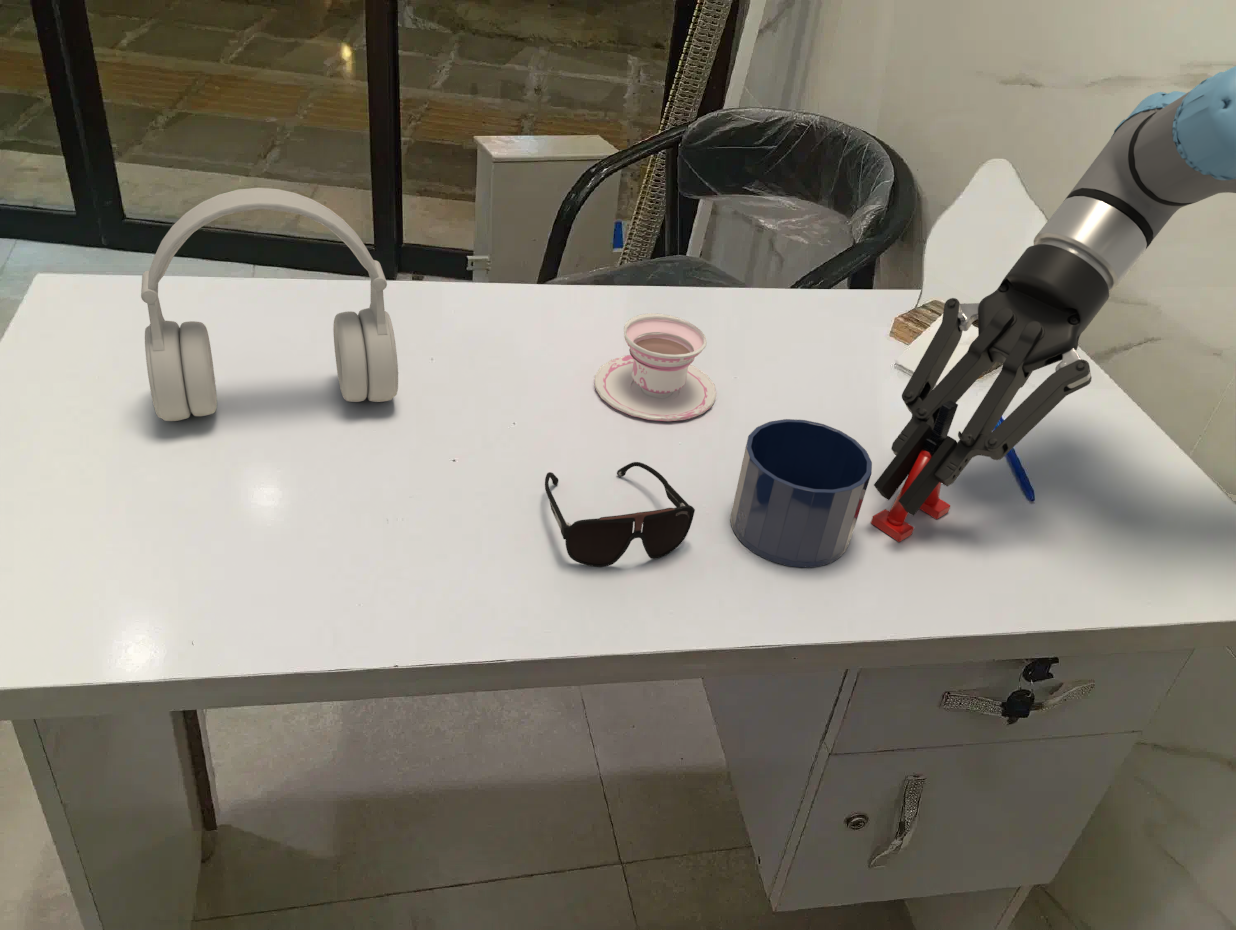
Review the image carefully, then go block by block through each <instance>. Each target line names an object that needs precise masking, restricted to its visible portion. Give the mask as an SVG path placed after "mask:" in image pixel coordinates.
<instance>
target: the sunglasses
mask: <svg viewBox="0 0 1236 930" xmlns="http://www.w3.org/2000/svg"><path fill="white" fill-rule="evenodd" d="M634 467H639V468H641V469H644V470H645V471H647V472H649V473H650V474H651V475H653V476H654V477H655V478H656V479H657V480H658V481H660V482H661V484H662V486H663V487H664V490H665V494H666V497H667V499H668V500H669V501H670V502H671V503H672V504H673V505H674V506H675V507H667V508H662V509H655V510H647V511H638V512H632V513H627V514H619V515H608V516H601V517H599V518H587V519H586V518H585V519H580V520H576V521H574V522H573V523H572V524H571V523H569V522H567V521H566V519H565V518H564V516H563V514H562V512H561V510H560V508H559V505H558V504H557V501H556V499H555V497H554V495H553V494H552V491H551V489H550V484H549V482H550V479H551V483H552V485H553V486H557V485H558V484H559V478H558V477H557V475H555V474H554V473H553V472H547V473H546V475H545V478H544V490H545V493H546V495H547V498H548V501H549V505H550V510H551V513H552V514H553V517H554V519H555V521H556V523H557V525H558V527H559V530H560V534H561V536H562V539H563V540H565V548H566V552H567V555H568V557H569V558H570V559H571V560H573V561H574V562H576V563H579V564H581V565H583V566H588V567H593V568H605V567H609V566H612V565H614V564H616V562H618V561H619V559H621V557H623V555H624V554H625V553H626V551H627V550H628V548H629V546H630V545H631V542H633V540H635V539H640V540H641V543H642V546H643V548H644V550H645V552H646V554H647V557H648V558H650V559H652V560H656V559H657V560H658V559H660V558H663V557H666V556H667V555H669V554H670V553H672V552H674V550H676V549H677V548H678V547H679V546H680V545H682V543H683V542H684V540H686V537H687V535H688V533H689V532H690V529H691V526H692V523H693V520H694V515H695V511H696V509H695V508H694V507H693V506H692V505H690V504H689V503H688V502H687V501H686V500H685V499H684V498H683V497H682V495H680V494H679V493H678V492H677V490H675V489H674V488H673V486H672V485H670V483H669V482H668V480H667V479H666V478H665V477H664V475H662V474H661V473H660V472H658V471H657V470H656V469H654V468H653V467H651V466H650V465H648V464H645V463H643V462H641V461H632V462H630V463H628V464H626V465H624V466H622V467H621V468H619V469H618V470H617V472H616V475H617V477H619V478H622V477H625V475H626V473H627V471H629V470H630V469H631V468H634Z"/></svg>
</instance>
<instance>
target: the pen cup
mask: <svg viewBox="0 0 1236 930" xmlns="http://www.w3.org/2000/svg"><path fill="white" fill-rule="evenodd" d="M871 459H872V458H871V457H870V455H869V453H868V451H867V450H866V449H865V447H863V446H862V445H861V443H860V442H858V441H857V440H856V439H854V438H853V437H851V436H850V435H848V434H846V433H845V432H843V431H841V430H840V429H837V428H835V427H832V426H829V425H827V424H824V423H820V422H816V421H811V420H806V419H791V418H784V419H778V420H771V421H767V422H765V423H763V424H761V425H758V426H757V427H755V428H754V430H752V431H751V432H750V434H748V436H747V440H746V444H745V449H744V454H743V458H742V462H741V467H740V472H739V476H738V481H737V485H736V489H735V495H734V498H733V503H732V508H731V512H730V526H731V528H732V531H733V533H734V534H735V536H736V538H737V539H738V540H739V541H740V542H741V544H743V545H744V546H745V547H746V548H747V549H748V550H749V551H751V552H753V553H754V554H755V555H757V556H759V557H761V558H763V559H765V560H767V561H770V562H772V563H775V564H779V565H783V566H787V567H792V568H817V567H821V566H825V565H829V564H831V563H834V562H835V561H837V560H838V559H840V558H841V557H842V556H843V555H844V554H845V553H846V551H847V549H848V547H849V544H850V542H851V540H852V537H853V533H854V530H855V527H856V523H857V521H858V518H859V514H860V512H861V508H862V505H863V502H864V499H865V495H866V493H867V489H868V486H869V482H870V480H871V476H872V473H873V471H872V469H873V462H872V460H871Z"/></svg>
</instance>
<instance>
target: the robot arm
mask: <svg viewBox="0 0 1236 930" xmlns="http://www.w3.org/2000/svg"><path fill="white" fill-rule="evenodd" d="M1223 193H1225V194H1227V193H1229V194H1231V193H1232V194H1236V65H1235V66H1233V67H1231V68H1229V69H1227V70H1225V71H1219V72H1217V73H1215V74H1214V75H1213V76H1210V77H1207V78H1205V79H1204V80H1202V81H1201V82H1199V83H1198V84H1197V85H1195V87H1193V88H1192V89H1190V91H1188V92H1184V91H1179V90H1173V91H1170V92H1168V93H1167V92H1164V91H1158V92H1154V93H1152V94H1150V95H1148V96H1146V97H1145V98H1144V99H1142V100H1141V101H1140V102H1139V104H1138V105H1136V107H1135V108H1134V109H1133V110H1132V111H1131V113H1129V115H1128V116H1127V117H1126V118H1124V119H1123V120H1121V122H1120V123H1118V125H1117V127H1116V128H1114V130H1113V133H1112V135H1111V137H1110V139H1109V140H1108V142H1107V143H1106V144H1105V146H1104V147H1103V148H1102V149H1101V151H1100V152H1099V154H1098V155H1097V156H1096V157H1095V159H1094V160H1093V161H1092V163H1091V164H1090V165H1089V167H1088V168H1087V170H1086V171H1085V172H1084V173H1083V174H1082V176H1081V178H1080V179H1079V180H1078V182H1077V183H1076V184H1075V185H1074V187H1073V188H1072V189H1071V191H1070V192H1069V194H1068V195H1067V196H1066V197H1065V199H1064V200H1063V201H1062V202H1061V204H1060V205H1059V206H1058V208H1056V210H1055V212H1053V214H1052V215H1051V216H1050V218H1049V219H1048V220H1047V221H1046V223H1045V224H1044V225H1043V227H1041V229H1040V230H1039V231H1038V233H1037V234H1036V235H1035V236H1034V238H1033V245H1030V246H1028V247H1027V248H1026V249H1025V250H1024V251H1023V253H1022V254H1021V255H1020V256H1019V258H1018V259H1017V260H1016V262H1015V263H1014V265H1013V266H1012V267H1011V269H1009V271H1008V272H1007V273H1006V275H1005V276H1004V278H1003V279H1002V281H1001V283H1000V284H999V285H998V287H997V289H996V290H994V291H993V292H992V293H990V294H988V295H987V296H985V297H983V298H982V299H981V301H980V302H976V303H975V302H974V303H972V302H971V303H960V301H959V299H957V298H956V297H950V298H948V299H947V300H946V301H945V302H944V306H943V313H942V319H941V323H940V325H939V327H938V329H937V331H936V332H935V334H934V336H933V338H932V339H931V341H930V343H929V345H928V346H927V349H926V350H925V352H924V354H923V356H922V357H921V359H920V361H919V363H918V364H917V366H916V367H915V370H914V372H913V373H912V375H911V377H910V379H909V380H908V382H907V384H906V386H905V388H904V389H903V391H902V392H901V399H902V401H903V402H904V404H905V406H906V408H907V410H908V411H909V413H911V418H910V420H909V421H908V423H906V425H905V426H904V428H903V429H902V430H901V431H900V433H899V434H898V436H897V437H896V438H895V440H893V442H892V445H891V451H892V453H893V454H894V455H895V456H894V458H893V459H892V460H891V462H890V463H889V464H888V465H887V466H886V468H885V469H884V470H883V472H882V473H881V475H879V478H878V479H877V480H876V481H875V483H874V484H873V487H874V488H875V489H876V490H877V492H878V493H879V494H880V496H881V497H883V498H884V499H886V500H887V501H890V500H891V499H892V498H893V496H894V495H895V494H896V492H897V491H898V489H899V488H900V487H901V486H902V484H904V482H905V481H906V479H907V477H908V475H909V473H910V471H911V469H912V467H913V465H914V463H915V462H916V460H917V458H918V456H919V454H920V452H921V450H922V449H923V447H924V444H925V441H926V439H927V438H929V437H931V434H932V431H933V428H934V425H935V422H936V419H937V417H938V414H939V411H940V408H941V405H942V404H943V403H945V402H947V401H949V400H951V401H953V402H954V403H956V404H957V402H958V401H959V400H960V399H961V398H962V397H963V396H964V395H965V393H966V392H968V390H969V389H970V388H971V387H972V386H973V384H975V383H976V382H977V380H978V379H979V378H980V377H981V376H982V375H983V374H984V373H985V372H988V371H989V370H990V369H992V367H994V365H995V364H996V363H1000V364H1002V366H1001V370H1000V372H999V374H998V375H997V377H996V378H995V379H994V381H993V383H992V384H991V385H990V387H989V389H988V390H987V392H986V394H985V395H984V397H983V398H982V400H981V402H980V403H979V405H978V407H977V408H976V410H975V411H974V413H973V415H972V416H971V418H970V419H969V421H968V422H967V424H966V425H965V427H964V428H963V430H962V432H961V431H960V430H959V431H958V433H957V437H958V439H959V440H958V441H957V440H956V439H955V438H953V437H951V436H949V435H947V438H946V439H945V440H944V442H943V443H942V444H941V446H940V447H939V448H938V450H937V451H936V452H935V453H934V455H933V456H932V457H931V459H930V460H929V461H928V463H927V464H926V465H925V467H924V468H923V469H922V471H921V472H920V473H919V474H918V476H917V477H916V478H915V480H914V481H913V482H912V484H911V485H910V486H909V488H908V489H907V490H906V491H905V493H904V494H903V495H902V497H901V498H900V499H899V502H900V504H901V505H902V507H903V508H904V509H905V511H906V512H908V515H910V516H912V517H914V516H915V515H916V513H917V512H918V511H919V510H920V509H919V508H920V507H921V506H922V504H923V503H924V502H925V500H926V499H927V498H928V496H929V495H930V494H931V492H932V491H933V490H934V489H935V487H936V486H937V485H938V483H939V482H940V483H941V485H944V486H945V487H949V486H950V485H952V484H954V482H955V481H956V480H957V478H958V477H959V476H960V475H961V473H962V472H963V471H964V469H966V467H967V465H968V464H969V463H970V462H971V460H972V459H973V458H975V457H978V456H979V457H980V456H981V457H987V458H990V459H991V460H993V461H998V460H1002V459H1003V458H1004V457H1006V455H1007V454H1008V453H1009V452H1010V451H1011V450H1012V449H1013V448H1014V447H1015V446H1016V445H1018V443H1019V442H1020V441H1022V439H1024V437H1026V436H1027V435H1028V434H1029V433H1030V432H1031V431H1032V430H1033V429H1034V428H1035V427H1036V426H1037V425H1038V424H1039V423H1041V421H1043V419H1044V418H1046V416H1047V415H1049V413H1050V412H1052V411H1053V410H1054V408H1056V407H1057V406H1058V405H1059V404H1060V403H1061V402H1062V401H1063V400H1064V399H1065V398H1066V397H1068V396H1069V395H1071V394H1073V393H1075V392H1077V391H1079V390H1082V389H1083V388H1085V387H1087V386H1088V385H1090V384H1091V382H1092V373H1091V367H1090V363H1089V362H1088V360H1085V359H1082V358H1081V356H1080V355H1079V353H1078V352H1077V350H1078V348H1079V339H1080V337H1081V335H1082V333H1083V332H1084V331H1085V330H1087V328H1088V326H1089V325H1090V324H1091V322H1092V321H1093V320H1094V319H1095V317H1096V316H1097V315H1098V313H1099V312H1100V311H1101V310H1102V308H1103V307H1104V305H1105V304H1106V303H1107V302H1108V300H1109V298H1110V292H1112V291H1114V290H1116V289H1117V288H1118V286H1119V285H1120V284H1121V283H1122V281H1123V280H1124V279H1125V277H1127V276H1128V274H1129V272H1130V271H1131V270H1132V269H1133V267H1134V266H1135V264H1136V263H1137V262H1138V261H1139V259H1140V258H1141V257H1142V256H1143V254H1144V253H1145V252H1146V250H1147V249H1148V248H1149V246H1150V245H1151V243H1152V242H1153V241H1154V240H1155V238H1157V236H1158V235H1159V233H1160V232H1161V231H1162V230H1163V228H1164V227H1165V226H1166V224H1167V223H1168V222H1169V221H1170V220H1171V218H1172V217H1173V215H1175V214H1176V213H1177V212H1178V211H1179V210H1180V209H1182V208H1184V207H1186V206H1189V205H1193V204H1195V203H1198V202H1200V201H1201V202H1202V201H1203V200H1206V199H1208V198H1210V197H1213V196H1216V195H1217V194H1223ZM976 320H977V333H978V334H977V336H976V337H975V338H974V339H973V341H972V342H971V343H970V345H969V346H968V349H967V352H966V353H965V354H964V355H963V356H962V357H961V358H960V359H959V360H958V361H957V362H956V364H955V365H954V366H953V367H952V368H951V369H950V370H949V371H948V372H947V374H946V375H945V376H944V377H943V378H942V379H941V380H940V381H939V379H940V377H941V375H942V374H943V372H944V371H945V368H946V366H947V365H948V363H949V361H950V360H951V358H952V356H953V354H954V353H955V350H956V349H957V347H958V345H959V344H960V341H961V339H962V336H963V332H968V330H969V329H970V328H971V327H972V324H973V322H975V321H976ZM1058 362H1059V363H1058ZM1055 363H1058V364H1057V365H1056V366H1055V368H1054V369H1055V371H1054V372H1053V373H1052V374H1050V375H1049V376H1047V378H1046V379H1045V380H1044V381H1042V383H1041V384H1040V385H1038V387H1036V388H1035V389H1034V390H1033V391H1032V392H1031V393H1030V394H1029V395H1028V396H1027V397H1026V398H1025V399H1024V400H1023V401H1022V402H1021V403H1020V404H1019V405H1018V406H1017V407H1016V408H1015V409H1014V410H1013V411H1012V412H1010V414H1009V415H1008V416H1007V417H1005V419H1004V420H1003V421H1002V422H1001V423H1000V424H999V421H1000V420H1001V418H1002V417H1003V415H1004V414H1005V412H1006V410H1007V409H1008V407H1009V406H1010V404H1011V402H1013V400H1014V398H1015V396H1016V395H1017V393H1018V391H1019V390H1020V389H1022V388H1023V387H1024V386H1025V385H1026V383H1027V381H1028V380H1029V378H1030V377H1031V375H1032V374H1033V373H1034V371H1036V370H1037V371H1038V370H1040V369H1042V368H1045V367H1047V366H1050V365H1052V364H1055ZM938 381H939V383H938ZM937 383H938V384H937ZM936 384H937V385H936Z"/></svg>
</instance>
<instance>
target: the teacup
mask: <svg viewBox="0 0 1236 930" xmlns="http://www.w3.org/2000/svg"><path fill="white" fill-rule="evenodd" d="M623 337H624V341H625V342H626V344H627V346H628V347H629V350H628V351H629V354H628V355H623V356H620V357H616V358H613V359H611V360H609V361H608V362H606V363H604V364H603V365H601V366H600V367H599V369H598V370H597V372H596V373H595V375H594V389H595V390H596V392H597V394H598V396H599V397H600V398H601V399H602V400H603V401H604V402H606V404H608V405H609V406H611V407H612V409H615V410H618V411H620V412H622V413H624V414H626V415H629V416H632V417H635V418H639V419H644V420H648V421H659V422H675V421H687V420H689V419H693V418H696V417H698V416H702V415H703V414H704V413H706V412H707V411H708V410H709V409H711V408H712V407H713V405H714V403H715V401H716V398H717V391H716V385H715V384H714V382H713V380H711V379H710V377H709V375H707V373H705V372H704V371H702V370H701V369H700V368H698V367H696V366H694V365H693V364H692V363H693V362H694V361H695V359H696V357H698V356H699V355H700V354H701V353H702V352H703V351H704V350H705V348H706V347H707V343H708V342H707V337H706V336H705V334H704V333H703V331H702V330H701V329H700V328H699V327H697V326H696V325H695V324H693V323H691V322H690V321H688V320H685V319H683V318H680V317H677V316H674V315H670V314H665V313H652V312H651V313H642V314H638V315H635V316H632V317H631V318H629V319H628V320H627V321H626V322H625V324H624V326H623Z"/></svg>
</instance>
